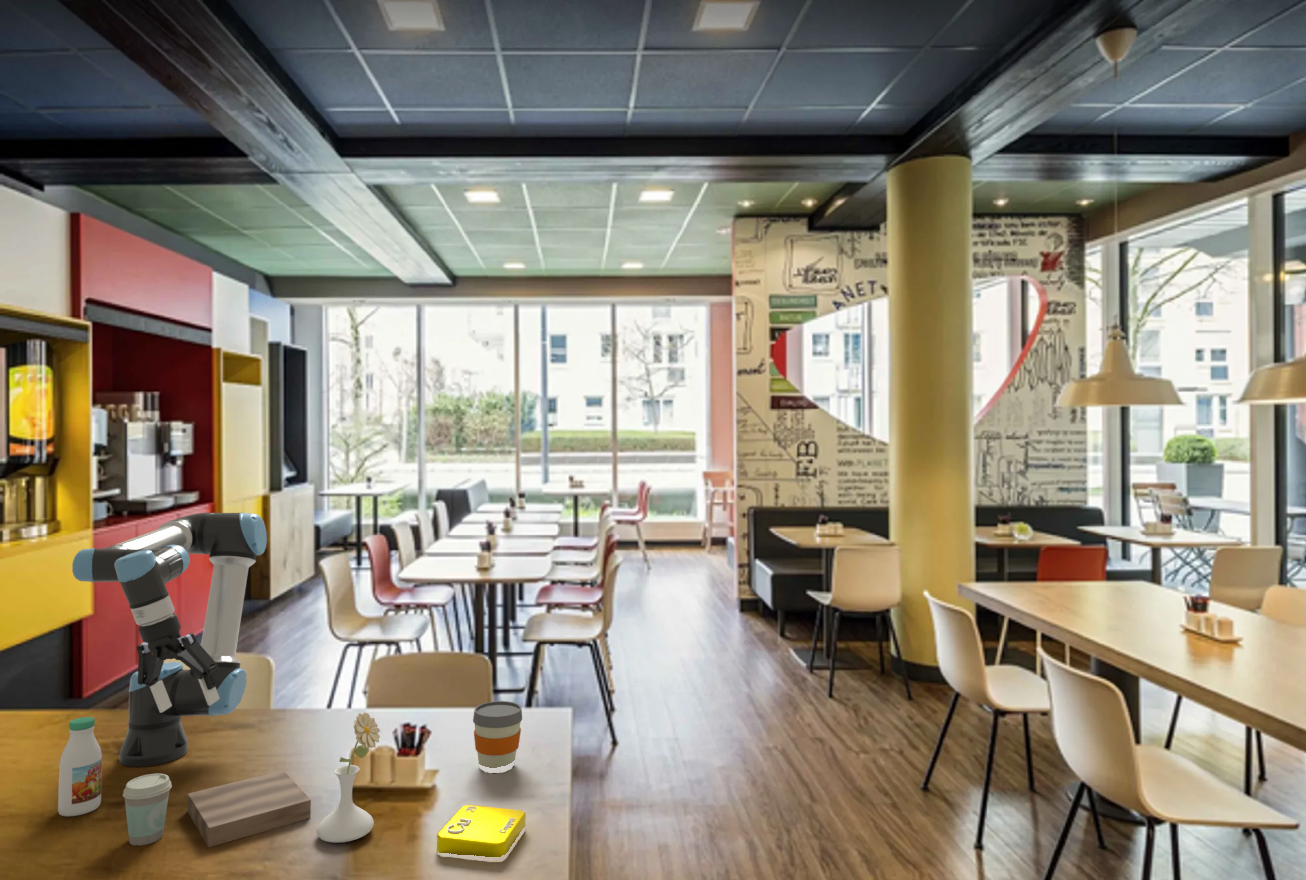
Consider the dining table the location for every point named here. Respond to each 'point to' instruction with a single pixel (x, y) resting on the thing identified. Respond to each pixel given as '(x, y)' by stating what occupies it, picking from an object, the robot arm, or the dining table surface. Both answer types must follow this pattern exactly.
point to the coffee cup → (146, 807)
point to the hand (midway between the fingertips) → (189, 705)
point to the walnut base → (247, 807)
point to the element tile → (481, 831)
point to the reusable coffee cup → (497, 732)
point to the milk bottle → (80, 770)
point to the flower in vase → (347, 816)
